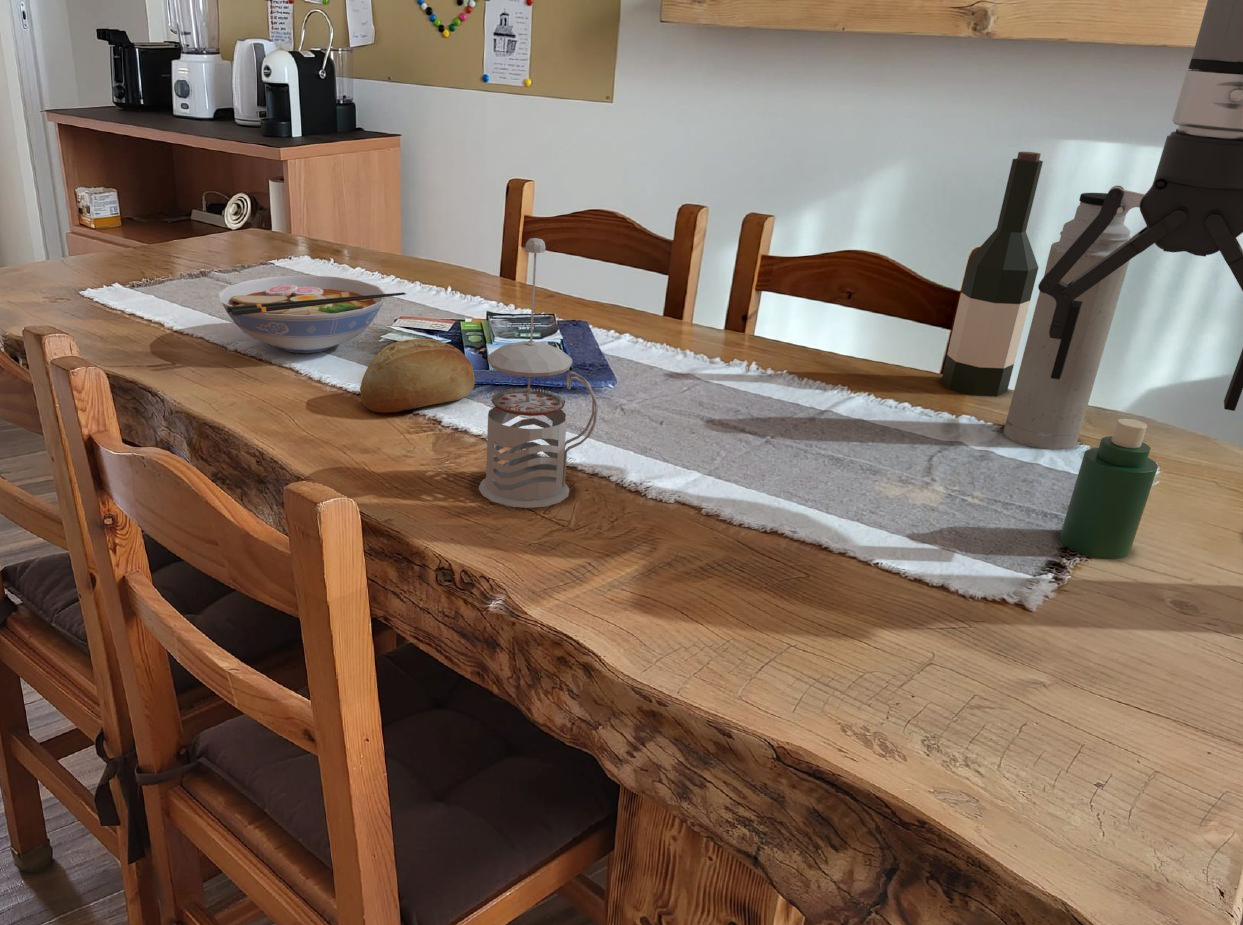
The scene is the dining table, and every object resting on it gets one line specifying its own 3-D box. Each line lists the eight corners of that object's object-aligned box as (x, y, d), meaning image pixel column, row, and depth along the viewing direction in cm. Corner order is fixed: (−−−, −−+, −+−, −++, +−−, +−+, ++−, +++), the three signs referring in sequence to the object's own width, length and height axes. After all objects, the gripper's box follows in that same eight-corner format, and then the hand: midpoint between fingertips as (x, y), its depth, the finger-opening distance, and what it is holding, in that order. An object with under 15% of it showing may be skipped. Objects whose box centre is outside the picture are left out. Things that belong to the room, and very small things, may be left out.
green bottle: (1130, 544, 103) (1171, 420, 97) (1126, 568, 98) (1169, 439, 92) (1061, 528, 105) (1097, 407, 100) (1055, 551, 101) (1092, 425, 95)
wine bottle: (942, 376, 150) (993, 146, 136) (1006, 385, 147) (1065, 152, 133) (938, 393, 143) (992, 153, 129) (1006, 403, 140) (1068, 159, 126)
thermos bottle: (1004, 423, 133) (1065, 186, 120) (1075, 435, 130) (1145, 193, 117) (1001, 444, 126) (1065, 195, 113) (1076, 457, 123) (1150, 203, 111)
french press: (473, 472, 113) (479, 226, 101) (583, 473, 113) (601, 229, 102) (477, 512, 104) (484, 247, 93) (596, 512, 105) (617, 250, 94)
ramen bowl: (353, 317, 166) (352, 263, 162) (422, 356, 149) (422, 297, 145) (192, 335, 154) (186, 278, 150) (247, 381, 136) (242, 317, 133)
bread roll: (493, 407, 131) (495, 342, 127) (384, 427, 123) (383, 359, 120) (452, 384, 138) (453, 323, 134) (346, 403, 130) (344, 338, 127)
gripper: (1047, 121, 88) (984, 373, 97) (1424, 152, 77) (1311, 432, 86) (1057, 115, 93) (996, 354, 103) (1408, 144, 83) (1304, 407, 92)
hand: (1139, 390), depth 95 cm, fingers open, 13 cm apart
